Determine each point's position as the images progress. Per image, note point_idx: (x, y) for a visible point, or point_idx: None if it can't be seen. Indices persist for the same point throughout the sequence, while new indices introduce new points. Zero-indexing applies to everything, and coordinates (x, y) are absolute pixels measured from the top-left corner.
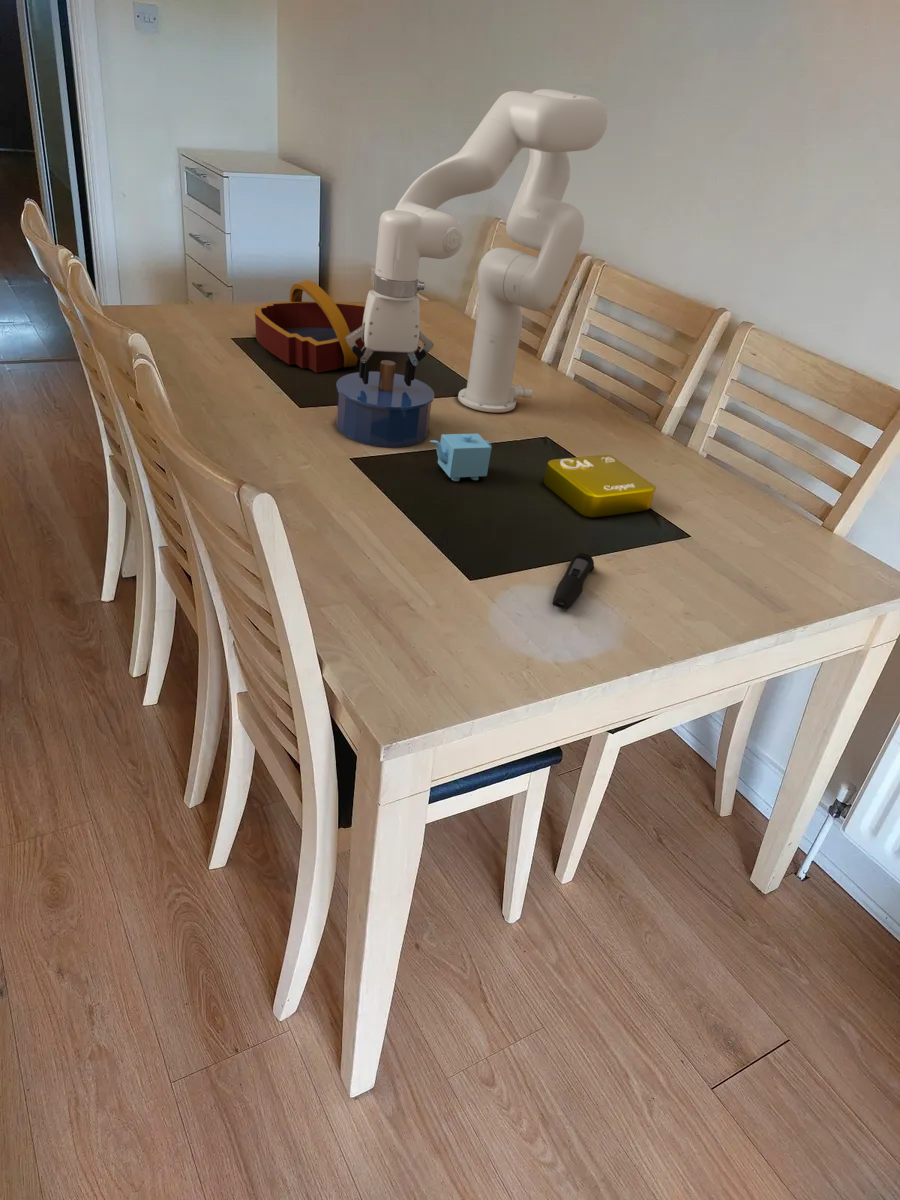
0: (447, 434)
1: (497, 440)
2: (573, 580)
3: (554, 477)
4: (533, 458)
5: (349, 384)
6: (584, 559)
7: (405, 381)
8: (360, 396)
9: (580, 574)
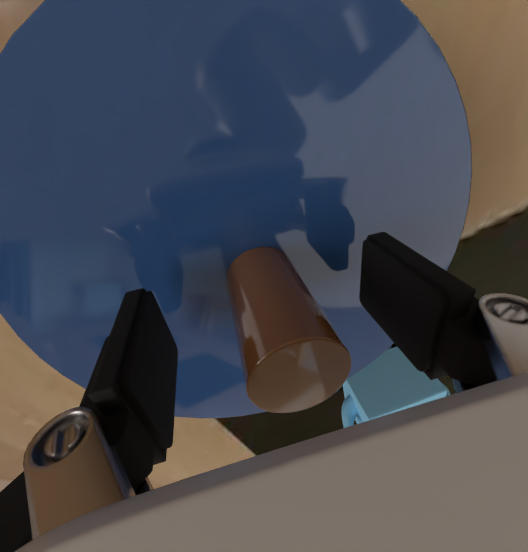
0: (381, 415)
1: (511, 205)
2: None
3: None
4: (524, 274)
5: (71, 290)
6: None
7: (364, 273)
8: None
9: None
